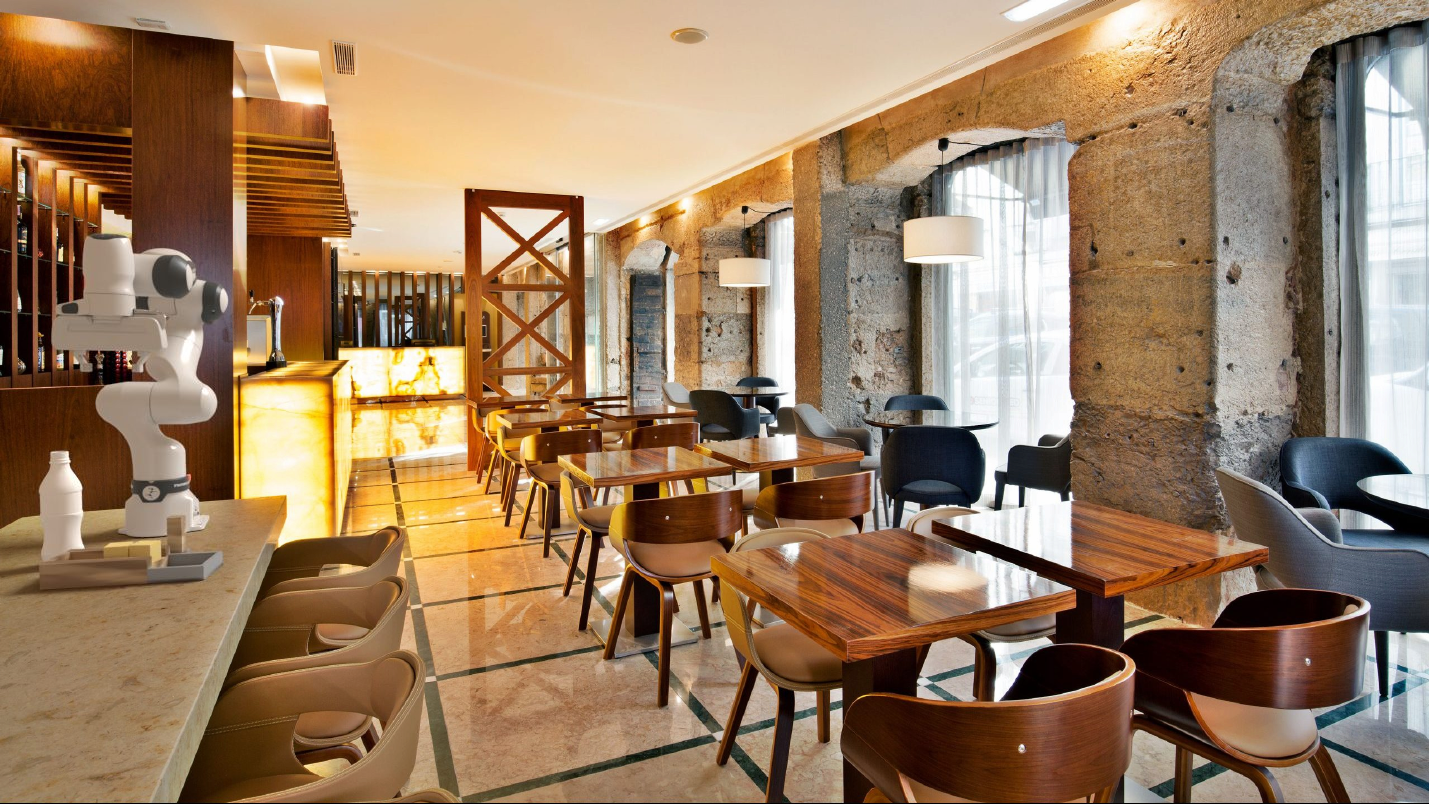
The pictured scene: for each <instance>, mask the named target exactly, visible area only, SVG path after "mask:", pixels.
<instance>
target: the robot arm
mask: <svg viewBox="0 0 1429 804" xmlns="http://www.w3.org/2000/svg"><path fill="white" fill-rule="evenodd" d="M82 275H83V277H84V279H85V285H84V288H83V298H81V299H80V298H79V299H77V300H72V301H68V302H67V301H66V302H62V303H59V304H57V305H56V306H55V312H56V313H55V314H57V315H58V316H56V317H55V318H54V320H53V323H52V327H51V345H52V346H53V347H54V349H55V350H57V351H62V350H63V351H72V352H73V353H72V354H73V357H74V358H75V360H76V361H77V362H78V363H79V371H80V372H83V373H84V372H85V373H86V372H87V373H90V372H93V363H91V362H90V363H88V362H87V360H86V359H85V357H84V356H86V354H87V351H106V352H107V351H108V352H109V351H112V352H113V351H114V352H116V351H117V352H119V351H121V352H137V353H136V355H137V357H139V359H138V360H137V362H136V363H132V364H131V368H132V369H131V372H132V373H143V372H144V364H145V370H146V372H147V374H148V375H149V376H150V377H152V378H153V380H155V381H123V382H118V383H112V384H106V385H105V386H104V387H102V388H101V389H100V391H99V392H98V393H97V394H96V395H97V396H96V399H95V409H96V411H97V413H98V415H99V416H100V417H101V418H102V419H103V420H104V421H105V422H107V423H109V424H110V425H112V426H114V428H116V429H117V431H119V432H120V433H121V434H122V436H123V437H124V439H125V441H126V442H127V444H128V446H129V449H130V453H131V454H130V455H131V462H132V476H133V478H132V479H131V480H130V481H131V483H130V488H131V489H130V490H131V493H132V495H131V497H129V498H128V499H127V500H126V501H125V505H124V506H125V507H124V526H123V527H120V528H118V530H117V533H118V534H121V535H122V534H123V535H127V536H129V537H136V538H139V537H140V538H144V537H145V538H147V537H148V538H151V537H152V538H153V537H163V536H164V537H165V536H167V517H169V516H171V515H186V533H188V532H194V531H200V530H201V531H202V530H203V529H205V527H206V525H207V524H208V522H209V520H210V515H209V514H207V515H206V514H200V500H199V498H197V497H196V495H194V493H193V492H192V491H191V490H190V488H191V487H190V482H191V478H192V476H191V474H190V473H189V474H187V467H186V466H187V464H186V463H187V461H186V460H187V459H186V457H187V456H186V449H185V447H184V445H183V444H182V443H181V442H179V440H176V439H174V438H172V437H168V436H166V435H165V434H164V433H163V432H162V431H161V429H160V426H159V425H189V424H196V423H202V422H207V421H209V420H210V419H211V418H212V417H213V416H214V415H215V413H216V410H217V408H218V399H217V395H216V393H215V391H214V390H213V389H212V388H211V387H210V386H209V385H207V384H205V383H203V382H202V381H201V380H199V378H198V376H197V369H198V364H199V361H200V358H201V354H202V350H203V345H204V330H203V325H204V324H205V325H207V326H211V325H213V323H214V322H215V321H217V320H219V319H220V318H221V317H222V316H224V314H225V313H226V310H227V308H228V305H229V296H228V293H227V291H226V288H225V286H223V284H222V283H220V282H217V281H214V280H213V281H212V280H209V279H208V280H201V279H197V278H198V273H197V267H196V264H195V263H194V262H193V260H191V258H190V257H189V256H187V255H186V254H185V253H183V252H181V251H179V250H176V249H172V248H166V247H165V248H164V247H163V248H162V247H161V248H160V247H159V248H156V247H155V248H152V249H151V248H150V249H147V250H145V251H143V252H141V253H134V252H133V247H132V242H131V239H130V237H128V236H126V235H123V234H119V233H117V234H116V233H101V232H100V233H91V234H89V235H87V236H86V238H85V241H84V245H83V251H82ZM167 318H168V319H167Z"/></svg>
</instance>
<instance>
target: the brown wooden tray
mask: <svg viewBox="0 0 1429 804" xmlns="http://www.w3.org/2000/svg"><path fill="white" fill-rule="evenodd" d="M103 548H104V547H92V548H89V547H88V548H84V549H71V550H68V551H66V552H64V553H62V554H60V555H58V556H56V557H54V558H52V559H50V560H48V561H46V562H44V563H43V562H42V563H40V564H39V565H38V573H39V590H40V591H43V590H55V589H57V590H58V589H59V590H61V589H76V588H90V587H108V586H109V587H110V586H125V585H127V586H128V585H142V584H143V585H144V584H148V583H147V569H148V568H156V567H168V566H169V554H170V545H167V544H161V559H160V560H158V561H156V562H153V563H152V556H144V557H124V558H104V550H103Z"/></svg>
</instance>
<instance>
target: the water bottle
mask: <svg viewBox="0 0 1429 804" xmlns="http://www.w3.org/2000/svg"><path fill="white" fill-rule="evenodd" d="M69 455H70V454H69V451H67V450H55V451H51V452H50V455H49V456H50V459H49V460H50V461H49V462H48V463H49V465H50V466H49V470H48V472H47V473H46V476H45V477H44V478H43V480H42V481H41V483H40V485H39V489H38V494H39V507H40V511H39V512H40V514H39V521H40V524H41V526H42V529H43V542H42V543H43V545H42V548H41V550H40V556H41V561H42V563H44V562H46V561H48V560H50V559H52V558H54V557H56V556H58V555H60V554H62V553H64V552H66V551H68V550H71V549H85V545H84V544H83V540H82V534H81V533H82V532H81V527H82V522H83V518H84V510H83V495H82V494H83V493H82V491H83V486H82V483H81V481H80V480H79V478H78V477H77V475H76V474H75V472H73V470H72V468H71V466H70V463H71V460H70V459H71V458H70V457H69Z"/></svg>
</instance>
